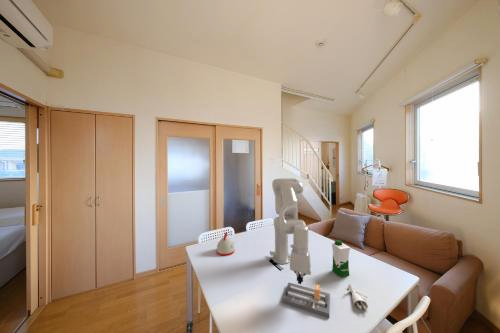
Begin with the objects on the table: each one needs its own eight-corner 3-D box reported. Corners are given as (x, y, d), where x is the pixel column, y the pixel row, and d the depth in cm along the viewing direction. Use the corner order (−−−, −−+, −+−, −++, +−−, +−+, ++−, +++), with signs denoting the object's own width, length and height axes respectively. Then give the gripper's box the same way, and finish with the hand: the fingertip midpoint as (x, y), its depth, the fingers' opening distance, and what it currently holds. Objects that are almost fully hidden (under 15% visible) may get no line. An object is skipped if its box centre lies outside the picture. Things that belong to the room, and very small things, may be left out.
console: (282, 302, 92) (282, 296, 92) (288, 285, 105) (288, 280, 104) (329, 318, 83) (329, 311, 83) (329, 297, 95) (329, 291, 95)
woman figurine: (350, 302, 86) (338, 280, 104) (350, 311, 86) (338, 288, 104) (376, 305, 84) (360, 283, 102) (377, 315, 84) (360, 291, 102)
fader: (313, 300, 90) (313, 288, 90) (314, 295, 94) (314, 283, 94) (320, 302, 89) (320, 290, 89) (320, 297, 93) (320, 285, 92)
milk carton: (341, 268, 122) (341, 238, 121) (351, 276, 113) (352, 244, 113) (330, 270, 120) (330, 240, 119) (340, 278, 111) (340, 246, 110)
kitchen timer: (235, 248, 151) (235, 230, 151) (232, 256, 137) (232, 237, 137) (219, 247, 152) (219, 229, 152) (214, 255, 139) (214, 236, 138)
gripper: (284, 249, 94) (284, 282, 95) (314, 256, 88) (314, 291, 89) (288, 242, 101) (287, 274, 102) (316, 248, 95) (315, 282, 96)
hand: (299, 282), depth 96 cm, fingers closed
